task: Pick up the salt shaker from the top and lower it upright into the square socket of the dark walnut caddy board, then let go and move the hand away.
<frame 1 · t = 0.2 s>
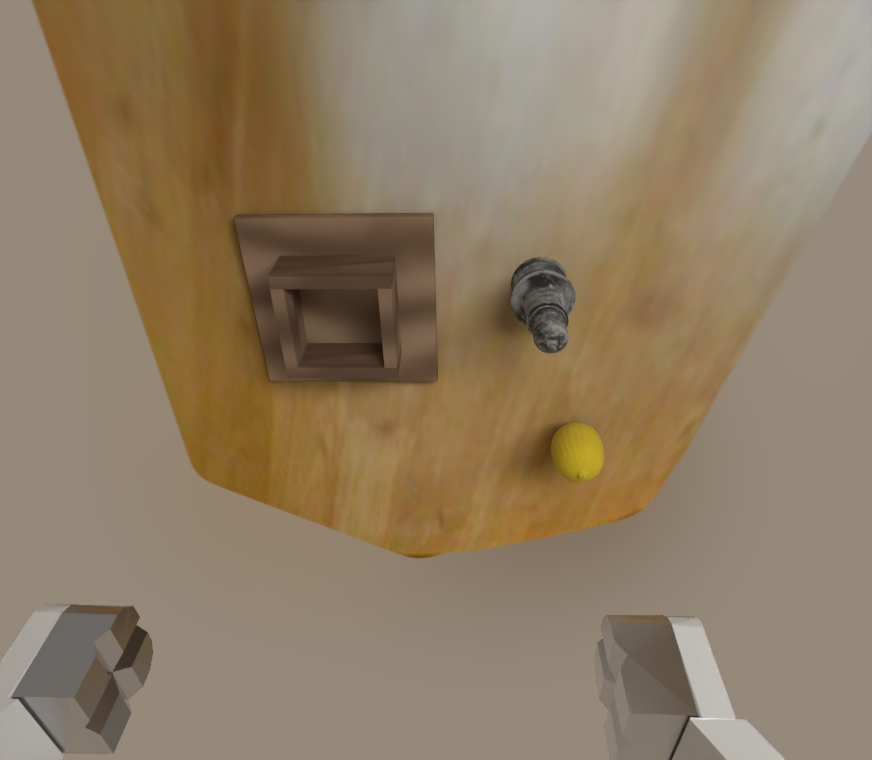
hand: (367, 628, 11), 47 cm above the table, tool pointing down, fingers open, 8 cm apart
lemon: (571, 426, 69), on the table
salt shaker: (538, 281, 59), on the table
caddy: (345, 301, 61), on the table
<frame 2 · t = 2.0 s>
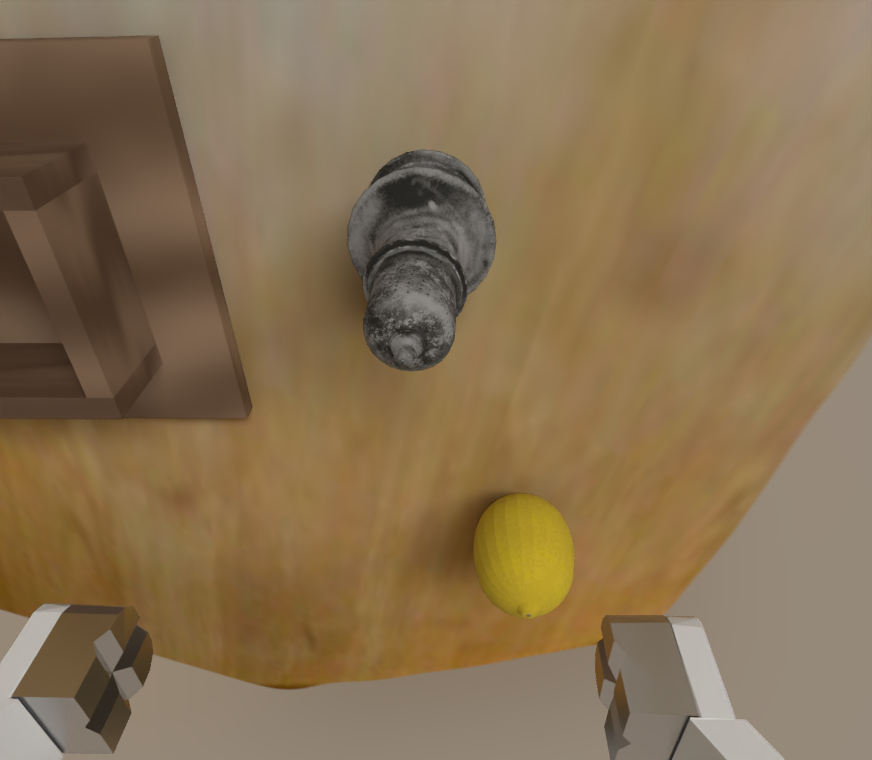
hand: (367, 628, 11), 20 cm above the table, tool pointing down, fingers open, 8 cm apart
lemon: (517, 495, 37), on the table
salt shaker: (426, 209, 27), on the table
caddy: (27, 256, 29), on the table
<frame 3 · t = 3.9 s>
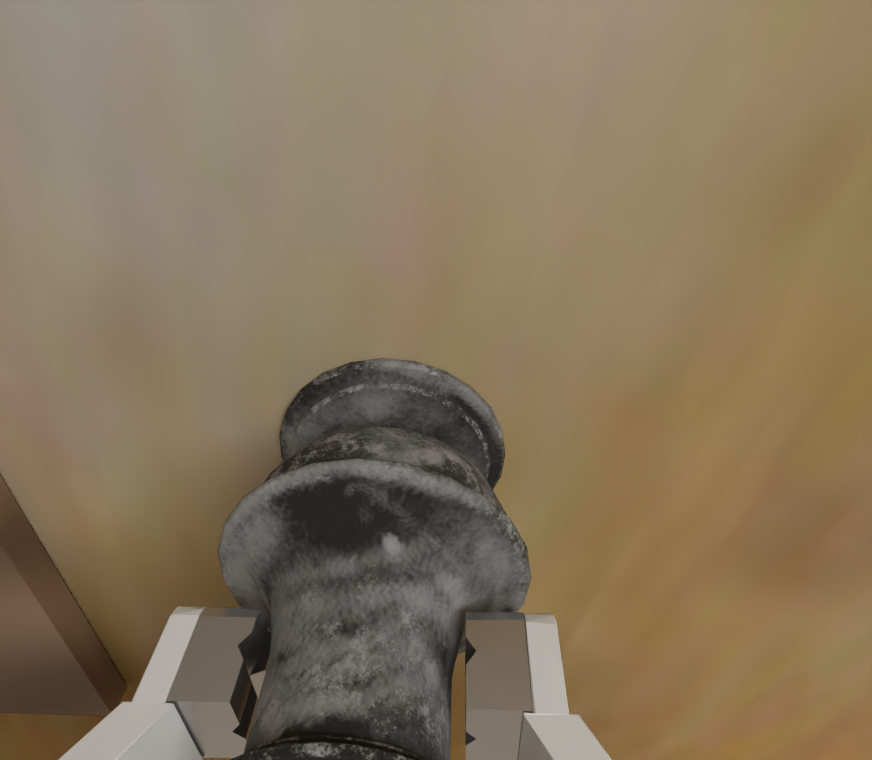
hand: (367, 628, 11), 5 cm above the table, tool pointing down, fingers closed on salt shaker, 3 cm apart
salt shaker: (393, 446, 15), on the table, touching gripper
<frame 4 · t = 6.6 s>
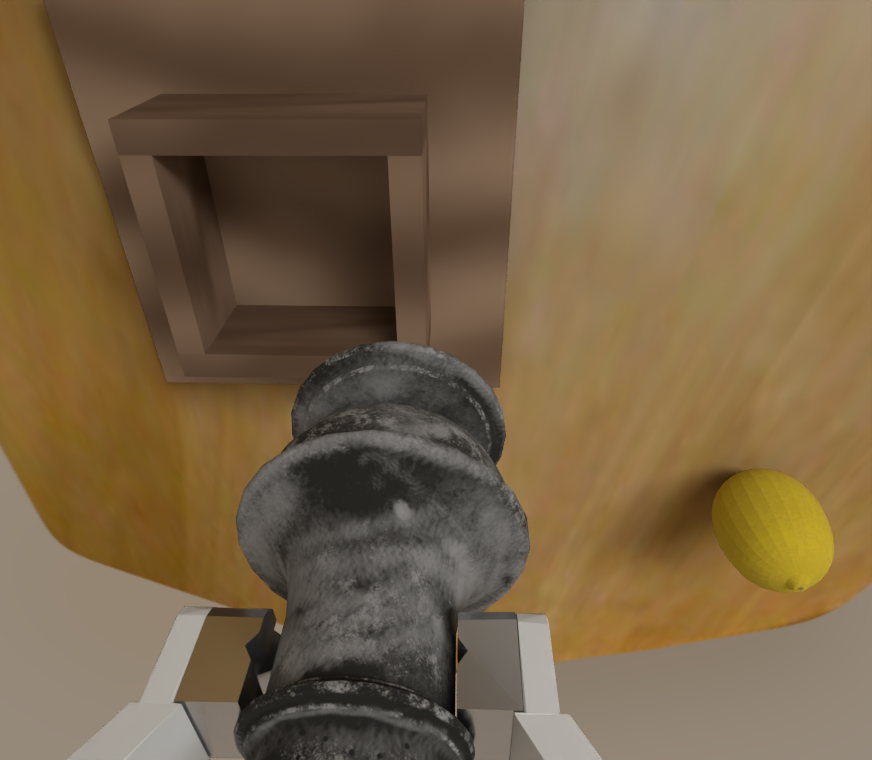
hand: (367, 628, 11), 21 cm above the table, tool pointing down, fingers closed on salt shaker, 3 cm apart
lemon: (740, 473, 37), on the table
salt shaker: (399, 426, 15), point 16 cm above the table, touching gripper
caddy: (314, 215, 28), on the table
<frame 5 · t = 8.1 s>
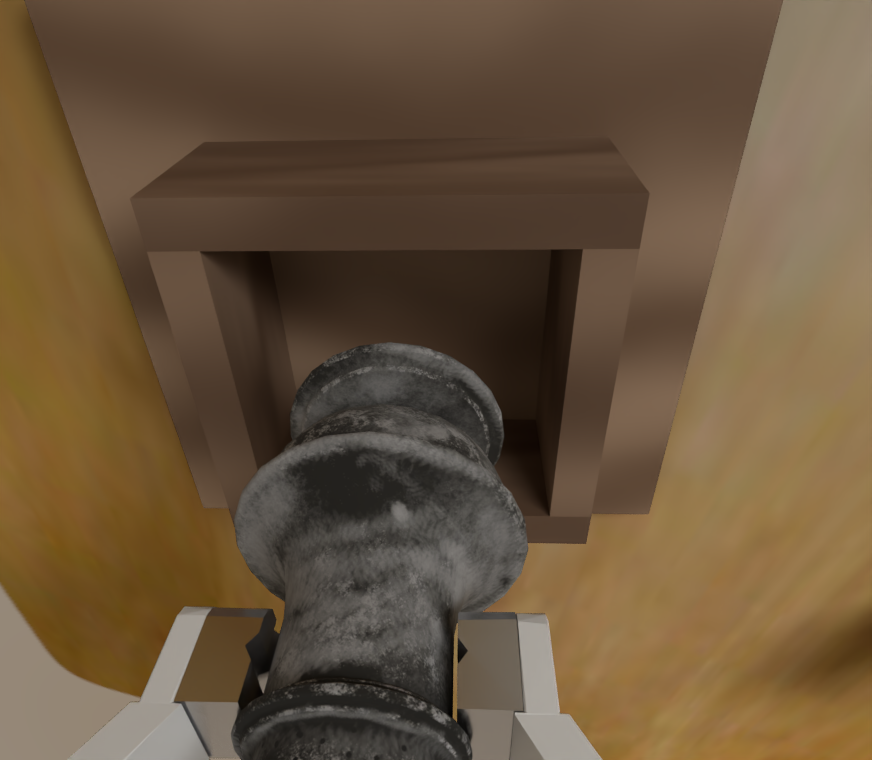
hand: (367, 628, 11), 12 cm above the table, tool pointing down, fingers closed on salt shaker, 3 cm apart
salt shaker: (397, 427, 15), point 6 cm above the table, touching gripper
caddy: (414, 301, 20), on the table
when the fingers open (7 cm above the table, at t = 9.4 s): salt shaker stays where it is, resting on caddy.
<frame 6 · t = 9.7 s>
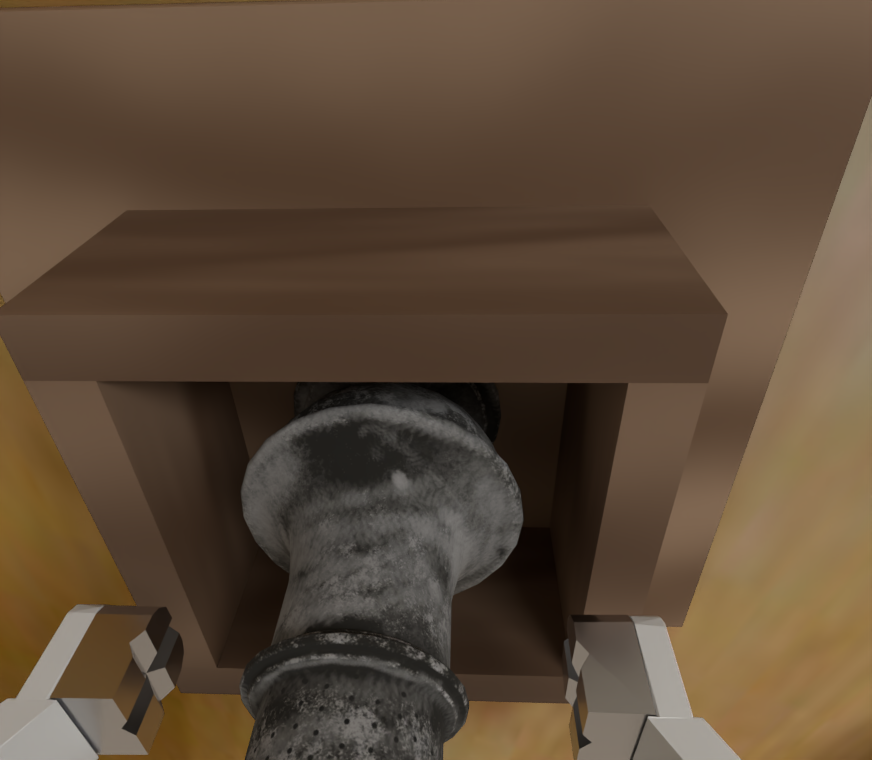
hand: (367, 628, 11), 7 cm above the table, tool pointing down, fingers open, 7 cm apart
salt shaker: (398, 408, 16), point 1 cm above the table, touching caddy
caddy: (401, 391, 16), on the table
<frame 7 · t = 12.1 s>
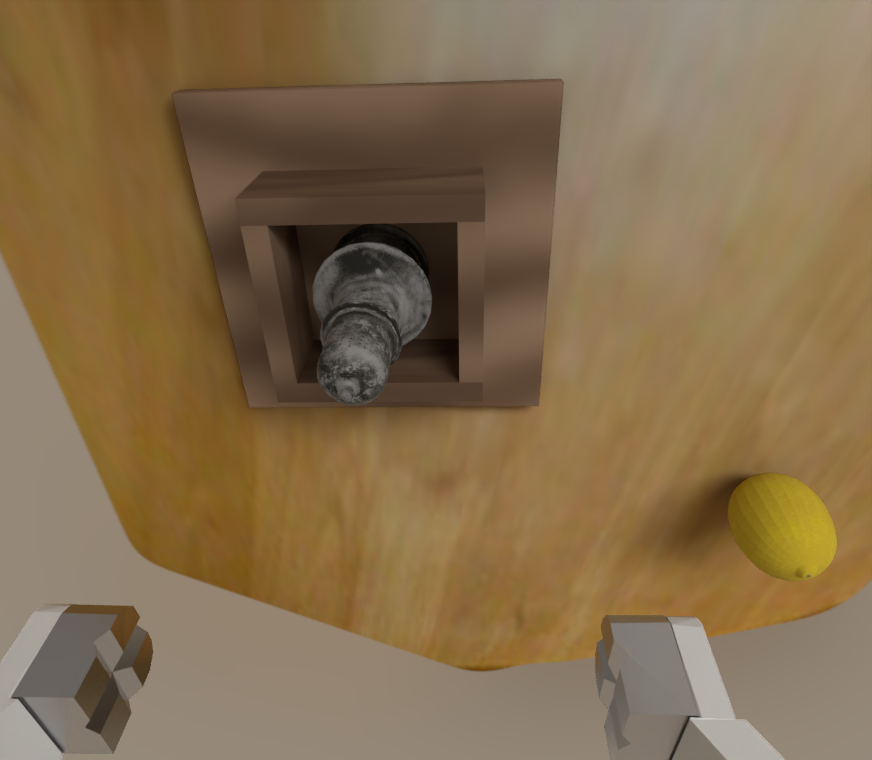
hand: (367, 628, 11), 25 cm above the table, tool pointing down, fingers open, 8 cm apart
lemon: (752, 477, 42), on the table
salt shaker: (380, 269, 33), point 1 cm above the table, touching caddy
caddy: (382, 264, 34), on the table
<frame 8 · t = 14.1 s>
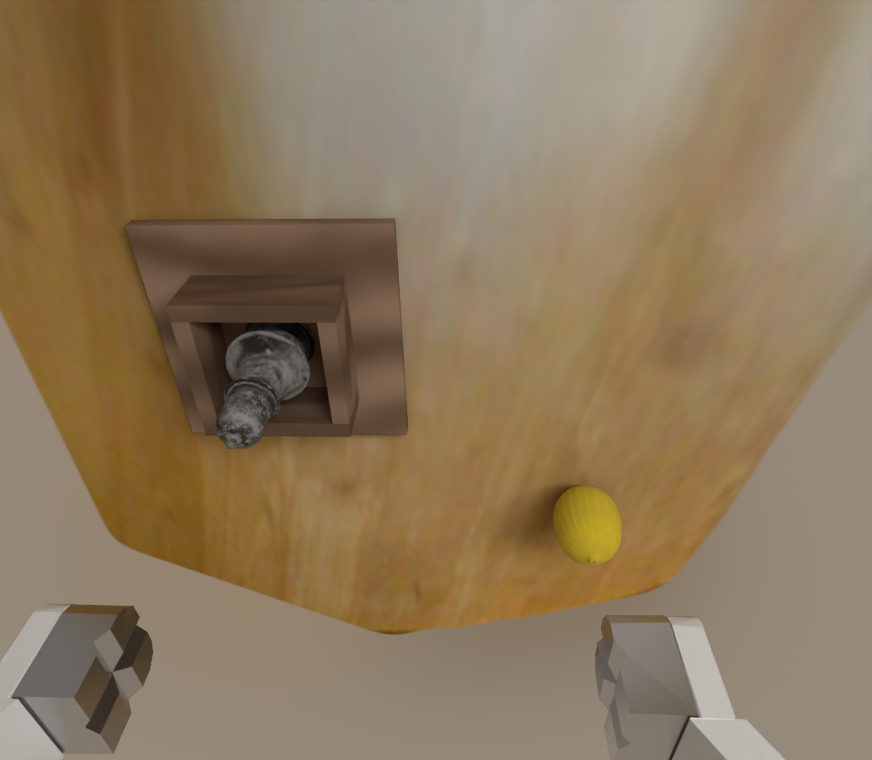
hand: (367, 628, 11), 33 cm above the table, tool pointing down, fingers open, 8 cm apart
lemon: (579, 487, 55), on the table
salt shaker: (281, 339, 46), point 1 cm above the table, touching caddy
caddy: (284, 334, 46), on the table
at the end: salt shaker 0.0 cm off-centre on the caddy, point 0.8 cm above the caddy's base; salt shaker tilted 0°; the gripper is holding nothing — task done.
